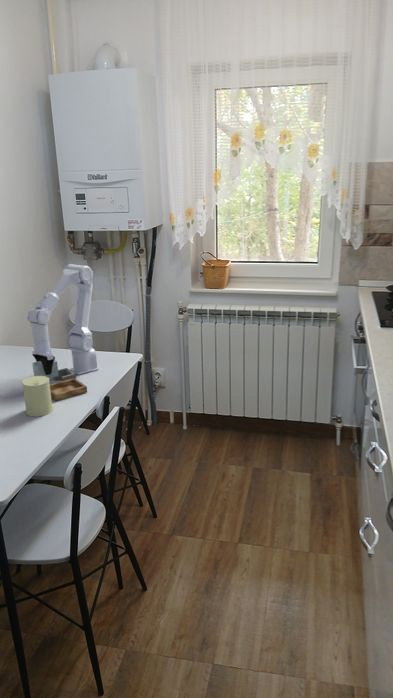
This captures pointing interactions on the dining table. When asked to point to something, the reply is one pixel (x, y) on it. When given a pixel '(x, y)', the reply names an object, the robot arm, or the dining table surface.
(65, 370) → the bay
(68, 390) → the tray
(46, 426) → the dining table surface
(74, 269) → the robot arm
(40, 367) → the pale blue cuboid
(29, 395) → the can
